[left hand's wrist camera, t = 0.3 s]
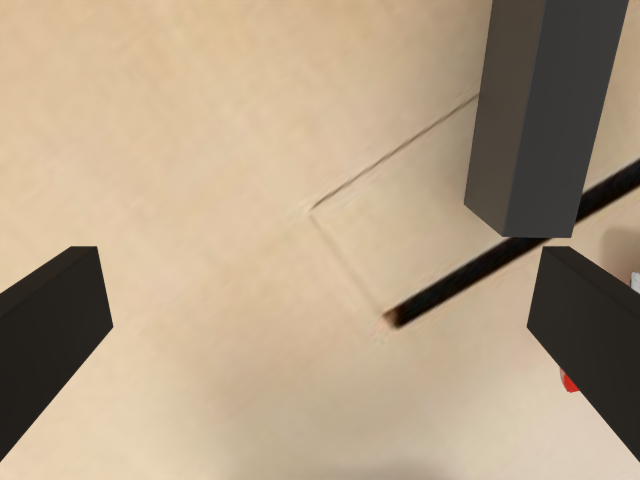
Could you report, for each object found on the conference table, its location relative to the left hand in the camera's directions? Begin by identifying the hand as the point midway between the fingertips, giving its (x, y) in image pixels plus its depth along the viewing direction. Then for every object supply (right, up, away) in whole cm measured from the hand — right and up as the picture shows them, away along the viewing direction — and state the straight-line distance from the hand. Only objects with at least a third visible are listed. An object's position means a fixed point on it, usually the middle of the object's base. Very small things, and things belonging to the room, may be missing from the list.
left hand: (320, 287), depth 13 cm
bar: (+16, +16, +22) cm, 32 cm away
